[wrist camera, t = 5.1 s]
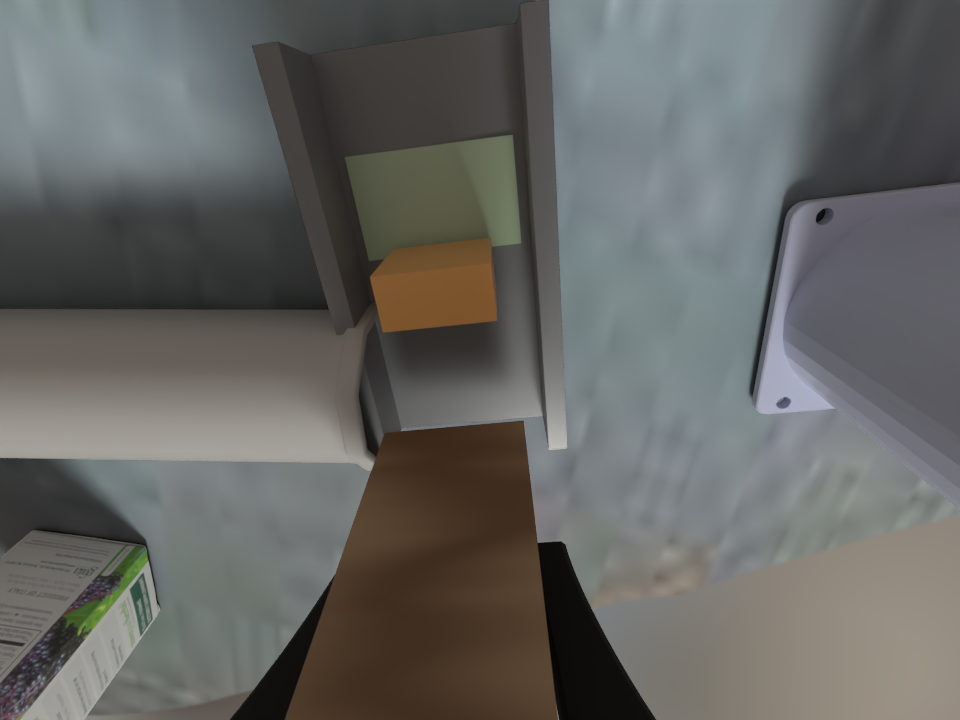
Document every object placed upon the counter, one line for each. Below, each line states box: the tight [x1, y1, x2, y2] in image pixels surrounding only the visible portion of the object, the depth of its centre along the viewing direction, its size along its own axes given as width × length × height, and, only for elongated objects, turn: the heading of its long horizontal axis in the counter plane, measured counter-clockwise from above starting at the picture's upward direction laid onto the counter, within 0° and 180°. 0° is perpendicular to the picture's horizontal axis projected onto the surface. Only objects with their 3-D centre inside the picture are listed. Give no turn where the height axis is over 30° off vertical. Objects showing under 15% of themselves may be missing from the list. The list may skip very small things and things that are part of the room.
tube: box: [0, 303, 379, 471], centre depth 15 cm, size 5×5×25 cm
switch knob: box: [370, 238, 497, 333], centre depth 13 cm, size 2×3×3 cm, turn 97°
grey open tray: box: [252, 0, 567, 456], centre depth 14 cm, size 12×7×4 cm, turn 7°
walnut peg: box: [285, 421, 558, 720], centre depth 10 cm, size 4×4×8 cm
